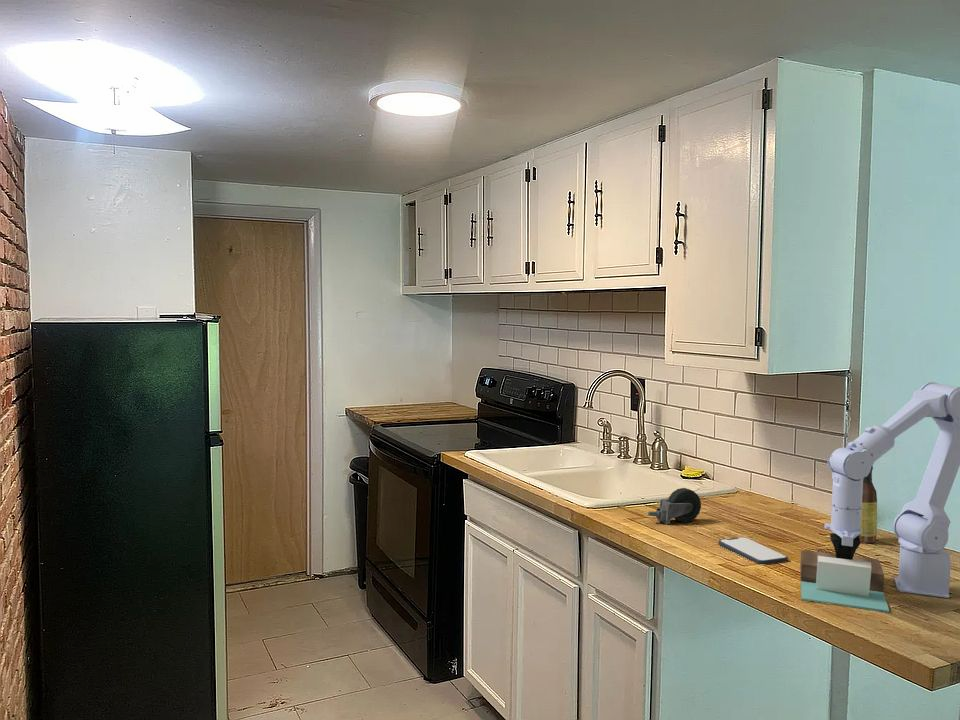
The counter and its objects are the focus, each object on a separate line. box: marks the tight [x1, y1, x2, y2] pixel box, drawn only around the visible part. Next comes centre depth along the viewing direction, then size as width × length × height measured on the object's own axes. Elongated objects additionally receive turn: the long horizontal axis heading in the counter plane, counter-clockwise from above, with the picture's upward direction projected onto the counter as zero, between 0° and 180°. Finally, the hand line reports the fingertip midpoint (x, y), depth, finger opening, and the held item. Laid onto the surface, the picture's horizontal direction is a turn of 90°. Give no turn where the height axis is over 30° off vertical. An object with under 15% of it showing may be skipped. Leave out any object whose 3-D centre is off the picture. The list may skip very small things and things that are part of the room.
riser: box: [799, 549, 885, 592], centre depth 172 cm, size 16×10×4 cm, turn 69°
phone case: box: [718, 536, 789, 565], centre depth 190 cm, size 9×2×16 cm
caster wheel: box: [647, 487, 702, 525], centre depth 215 cm, size 6×10×15 cm
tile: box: [816, 556, 871, 596], centre depth 163 cm, size 10×7×2 cm
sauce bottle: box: [858, 464, 878, 544], centre depth 200 cm, size 7×6×20 cm
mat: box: [800, 580, 890, 613], centre depth 162 cm, size 16×10×1 cm, turn 68°
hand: (843, 569), depth 164 cm, fingers closed
